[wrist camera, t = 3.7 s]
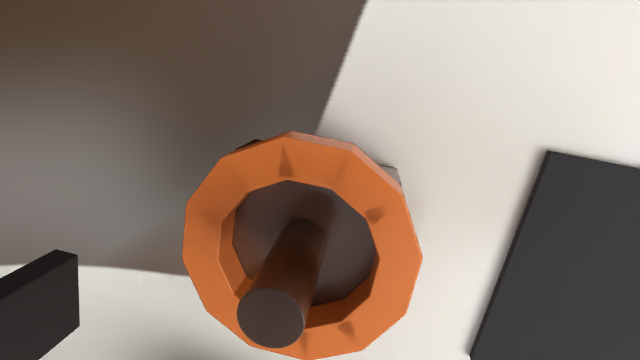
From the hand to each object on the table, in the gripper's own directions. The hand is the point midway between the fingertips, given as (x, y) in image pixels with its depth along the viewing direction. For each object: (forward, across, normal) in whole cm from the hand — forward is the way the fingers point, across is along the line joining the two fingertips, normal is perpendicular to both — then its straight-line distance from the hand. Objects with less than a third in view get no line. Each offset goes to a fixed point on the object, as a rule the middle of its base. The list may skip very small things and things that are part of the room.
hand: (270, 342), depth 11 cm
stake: (+10, 0, 0) cm, 10 cm away
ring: (+7, 0, 0) cm, 7 cm away
